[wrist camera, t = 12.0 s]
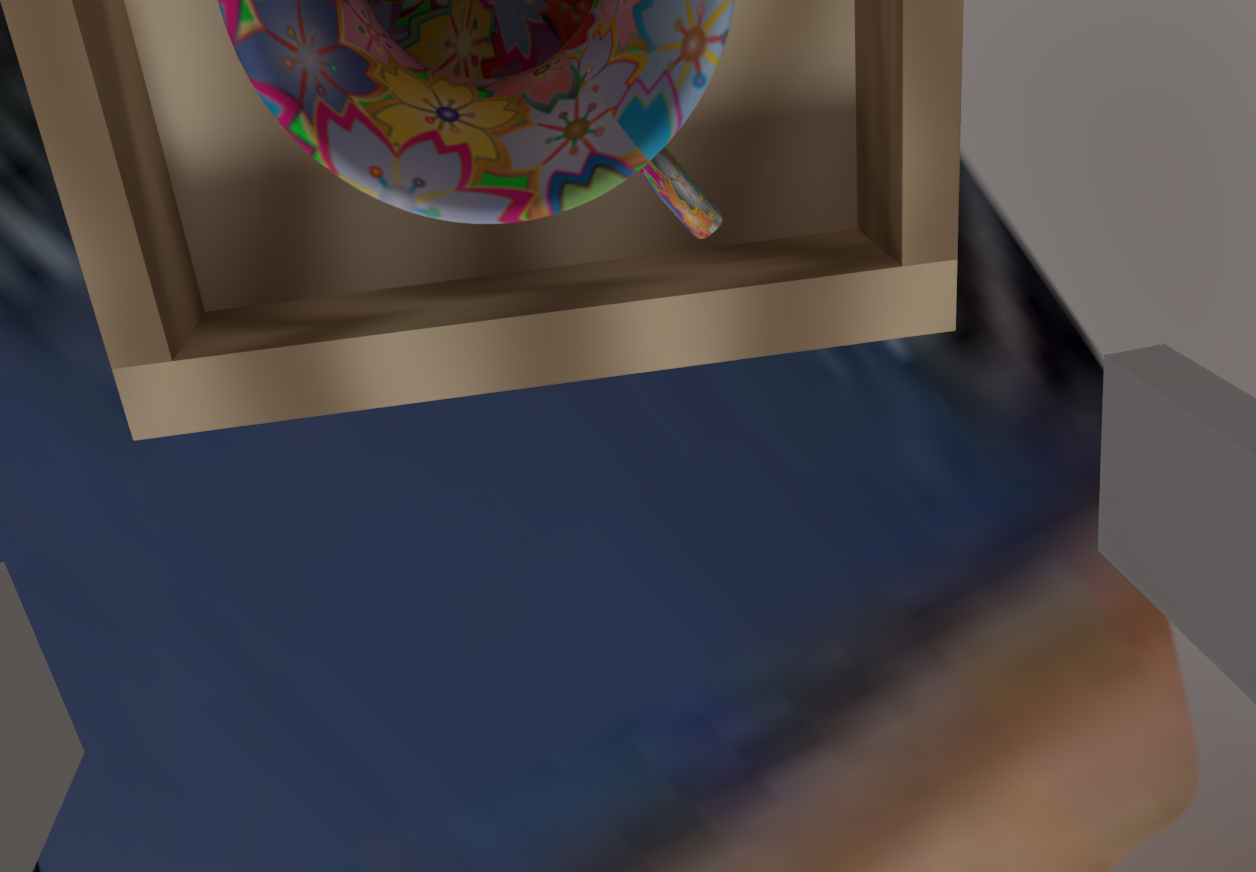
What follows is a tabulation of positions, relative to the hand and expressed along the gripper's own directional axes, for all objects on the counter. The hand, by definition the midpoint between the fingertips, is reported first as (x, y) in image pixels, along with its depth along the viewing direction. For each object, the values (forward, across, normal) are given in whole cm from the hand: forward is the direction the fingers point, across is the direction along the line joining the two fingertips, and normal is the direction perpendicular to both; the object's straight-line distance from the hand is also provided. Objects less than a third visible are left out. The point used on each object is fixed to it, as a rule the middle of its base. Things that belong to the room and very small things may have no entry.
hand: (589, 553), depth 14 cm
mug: (+21, +1, +5) cm, 22 cm away
